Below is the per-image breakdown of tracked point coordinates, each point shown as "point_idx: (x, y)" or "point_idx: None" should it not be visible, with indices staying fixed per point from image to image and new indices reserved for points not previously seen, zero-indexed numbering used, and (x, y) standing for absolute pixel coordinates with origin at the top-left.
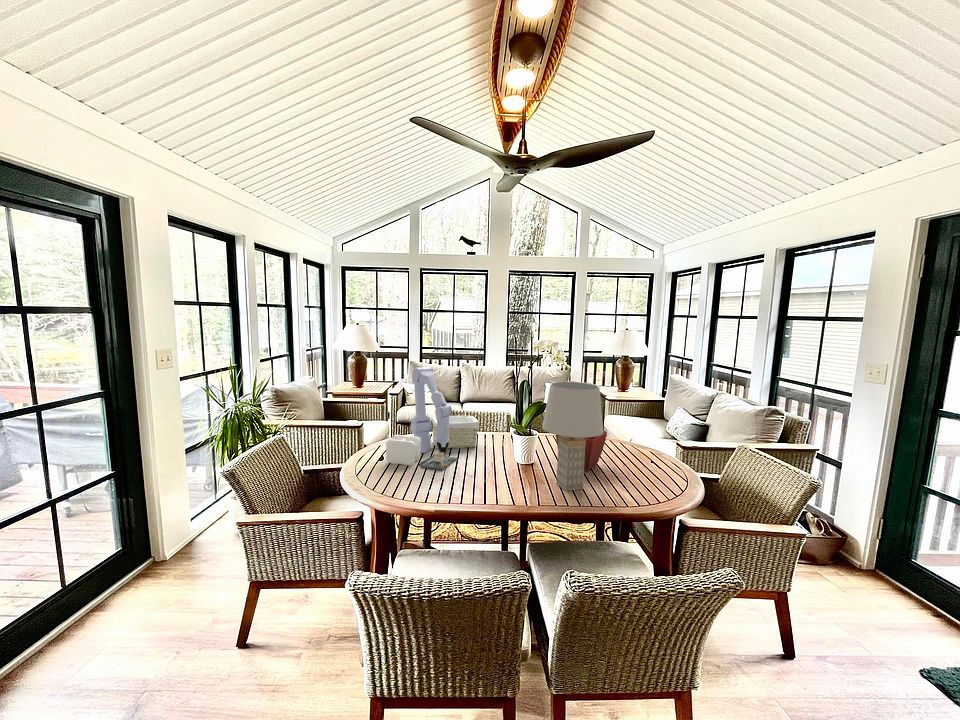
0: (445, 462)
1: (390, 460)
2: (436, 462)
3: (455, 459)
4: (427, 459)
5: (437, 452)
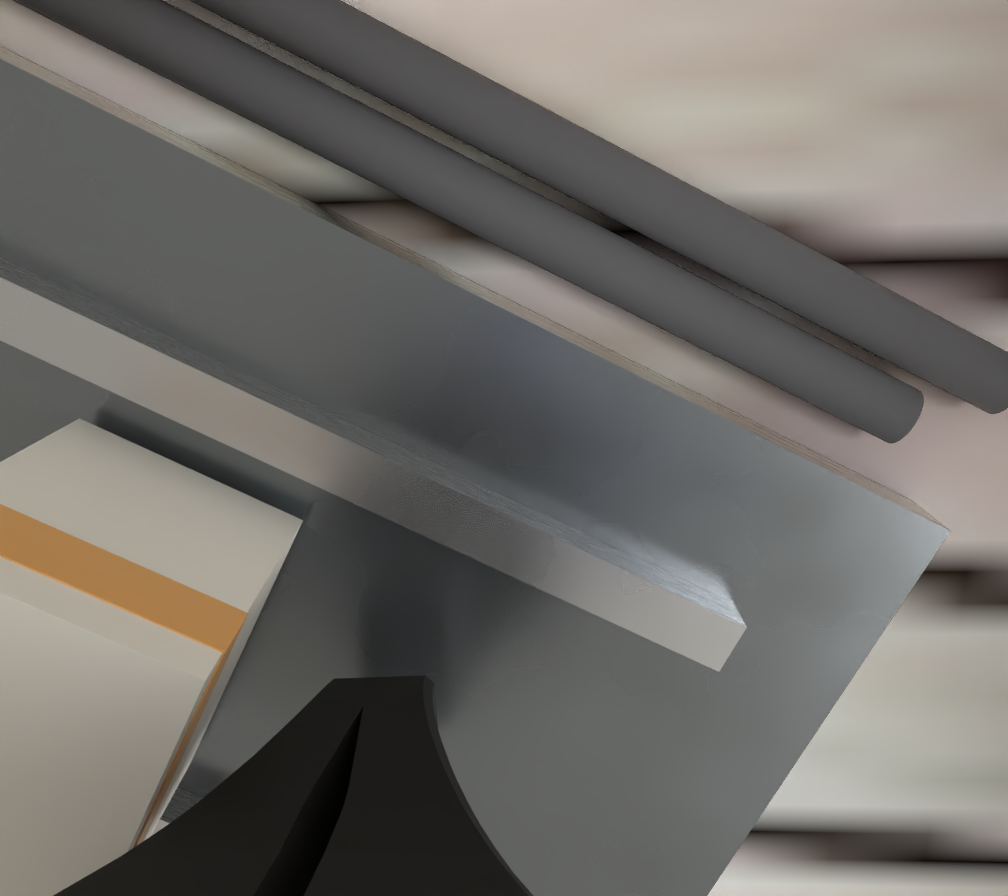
0: None
1: None
2: None
3: None
4: (507, 154)
5: (29, 713)
